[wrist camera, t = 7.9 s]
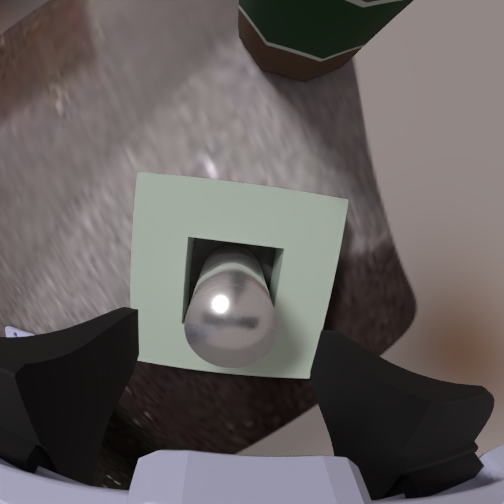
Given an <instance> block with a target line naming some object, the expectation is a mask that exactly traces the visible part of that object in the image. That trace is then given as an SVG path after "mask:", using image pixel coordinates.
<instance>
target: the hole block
mask: <svg viewBox="0 0 504 504" xmlns="http://www.w3.org/2000/svg"><path fill="white" fill-rule="evenodd" d="M348 202H349V200H347V199H342V198H337V197H331V196H326V195H320V194H314V193H308V192H302V191H296V190H289V189H283V188H276V187H269V186H262V185H255V184H248V183H240V182H232V181H224V180H216V179H207V178H198V177H188V176H178V175H167V174H155V173H142V172H138V173H137V182H136V192H135V203H134V215H133V229H132V248H131V286H130V304H131V308H132V309H138V330H139V356H138V359H137V360H138V361H144V362H149V363H155V364H160V365H167V366H173V367H179V368H186V369H194V370H201V371H209V372H218V373H227V374H238V375H249V376H263V377H280V378H307V379H309V377H310V370H311V367H312V363H313V360H314V356H315V352H316V348H317V345H318V341H319V337H320V333H321V330H322V329H323V325H324V321H325V317H326V313H327V309H328V305H329V300H330V296H331V291H332V287H333V282H334V278H335V273H336V268H337V263H338V258H339V253H340V248H341V243H342V237H343V232H344V226H345V220H346V215H347V209H348ZM194 238H202V239H210V240H219V241H227V242H235V243H243V244H251V245H259V246H267V247H275V248H276V251H275V257H274V263H273V270H272V276H271V282H270V288H269V295H270V298H271V301H272V304H273V308H274V311H275V314H276V317H277V322H278V333H277V337H276V340H275V343H274V345H273V346H272V348H271V350H270V351H269V352H268V353H267V354H266V355H265V356H264V357H263V358H261V359H260V360H259V361H257V362H255V363H253V364H251V365H248V366H245V367H240V368H224V367H219V366H215V365H212V364H210V363H208V362H206V361H204V360H203V359H201V358H200V357H199V356H198V355H197V354H196V353H195V352H194V351H193V350H192V348H191V347H190V345H189V344H188V341H187V339H186V336H185V331H184V322H185V317H186V314H187V311H188V308H189V292H190V279H191V267H192V256H193V245H194Z"/></svg>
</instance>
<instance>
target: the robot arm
mask: <svg viewBox="0 0 504 504" xmlns="http://www.w3.org/2000/svg"><path fill="white" fill-rule="evenodd" d="M5 332H6V337H0V504H504V445H500V446H498V447H496V448H494V449H492V450H489V451H487V452H485V453H484V454H482V455H481V456H480V457H479V458H478V457H477V455H476V454H475V453H474V452H476V451H477V449H478V446H477V444H476V443H475V442H474V441H475V439H476V438H477V436H478V435H479V433H480V432H481V430H482V429H483V427H484V426H485V424H486V423H487V421H488V419H489V417H490V415H491V413H492V410H493V407H494V398H493V395H492V394H491V393H490V392H488V391H487V389H486V388H484V387H482V386H475V385H465V384H455V383H451V382H445V381H440V380H436V379H432V378H429V377H426V376H422V375H419V374H416V373H413V372H411V371H408V370H406V369H404V368H401V367H399V366H396V365H394V364H392V363H390V362H388V361H387V360H384V359H383V358H381V357H379V356H377V355H376V354H374V353H372V352H371V351H369V350H367V349H366V348H364V347H362V346H361V345H359V344H358V343H356V342H355V341H353V340H351V339H350V338H348V337H346V336H345V335H343V334H341V333H339V332H337V331H330V330H321V333H320V337H319V341H318V345H317V348H316V352H315V356H314V360H313V363H312V367H311V370H310V374H311V380H312V385H313V390H314V393H315V396H316V399H317V402H318V405H319V407H320V410H321V413H322V415H323V418H324V420H325V423H326V426H327V429H328V432H329V435H330V438H331V442H332V446H333V450H334V455H335V456H326V455H307V456H251V455H233V454H220V453H210V452H201V451H193V450H158V451H156V452H153V453H151V454H148V455H146V456H143V457H141V458H139V459H138V462H137V465H136V468H135V471H134V475H133V479H132V482H131V486H130V489H129V491H128V490H117V489H109V488H101V487H94V486H92V482H93V477H94V472H95V468H96V464H97V459H98V455H99V452H100V448H101V445H102V441H103V438H104V435H105V432H106V429H107V426H108V423H109V420H110V417H111V415H112V413H113V410H114V408H115V407H116V405H117V403H118V401H119V399H120V397H121V395H122V393H123V391H124V389H125V387H126V385H127V383H128V381H129V379H130V377H131V375H132V373H133V371H134V368H135V365H136V362H137V359H138V356H139V330H138V309H132V308H127V307H122V308H119V309H116V310H113V311H111V312H109V313H106V314H104V315H101V316H99V317H97V318H94V319H92V320H89V321H87V322H84V323H81V324H78V325H76V326H73V327H70V328H67V329H63V330H60V331H55V332H51V333H46V334H40V335H35V334H32V333H29V332H25V331H22V330H19V329H17V328H14V327H11V326H7V327H6V328H5Z"/></svg>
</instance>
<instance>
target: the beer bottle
mask: <svg viewBox="0 0 504 504" xmlns="http://www.w3.org/2000/svg"><path fill="white" fill-rule="evenodd" d="M412 1H413V0H239V16H238V28H239V37H240V39H241V40H242V42H243V43H244V45H245V46H246V48H247V49H248V50H249V52H250V53H251V55H252V56H253V58H254V59H255V61H256V62H257V64H258V65H259V67H260V68H261V70H265V71H269V72H272V73H276V74H279V75H283V76H286V77H289V78H293V79H296V80H299V81H302V82H306V81H308V80H311V79H313V78H315V77H318V76H320V75H323V74H325V73H328V72H330V71H333V70H335V69H338V68H340V67H341V66H342V65H344V64H345V63H346V62H348V61H349V60H350V59H351V58H352V57H353V56H354V55H355V54H356V53H357V52H358V51H359V50H360V49H361V48H362V47H363V46H364V45H365V44H366V43H367V42H368V41H369V40H370V39H371V38H373V37H374V36H375V34H377V33H378V32H379V31H380V30H381V29H382V28H383V27H384V26H385V25H386V24H388V23H389V22H390V21H391V20H392V19H393V18H394V17H395V16H396V15H397V14H398V13H400V12H401V11H402V10H403V9H404V8H405V7H406V6H407V5H409V4H410V3H411V2H412Z"/></svg>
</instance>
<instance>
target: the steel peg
mask: <svg viewBox="0 0 504 504" xmlns="http://www.w3.org/2000/svg"><path fill="white" fill-rule="evenodd" d="M184 331H185V336H186V339H187V341H188V344H189V345H190V347H191V348H192V350H193V351H194V352H195V353H196V354H197V355H198V356H199V357H200V358H201V359H203V360H204V361H206V362H208V363H210V364H212V365H215V366H219V367H224V368H240V367H245V366H248V365H251V364H253V363H255V362H257V361H259V360H260V359H261V358H263V357H264V356H265V355H266V354H267V353H268V352H269V351H270V350H271V348H272V346H273V345H274V343H275V340H276V337H277V333H278V322H277V317H276V314H275V311H274V308H273V304H272V301H271V298H270V295H269V292H268V289H267V285H266V282H265V279H264V276H263V273H262V270H261V266H260V263H259V261H258V259H257V258H256V257H255V255H254V254H253V253H251V252H250V251H249V250H247V249H245V248H243V247H240V246H236V245H227V246H223V247H220V248H218V249H216V250H214V251H213V252H212V253H211V254H210V255H209V256H208V257H207V259H206V260H205V262H204V265H203V267H202V270H201V273H200V276H199V279H198V282H197V284H196V287H195V290H194V293H193V296H192V299H191V302H190V305H189V308H188V311H187V314H186V317H185V322H184Z"/></svg>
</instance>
